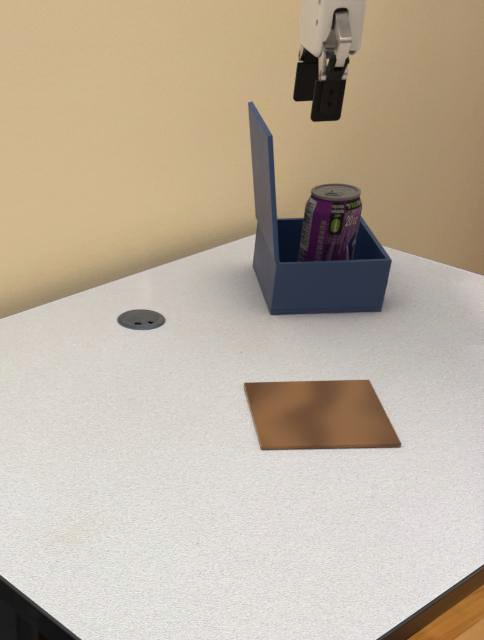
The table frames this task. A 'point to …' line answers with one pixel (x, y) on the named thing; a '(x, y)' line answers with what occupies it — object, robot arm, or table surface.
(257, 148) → the lunchbox lid
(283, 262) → the box
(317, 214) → the beverage can
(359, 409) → the cork mat
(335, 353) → the table surface
